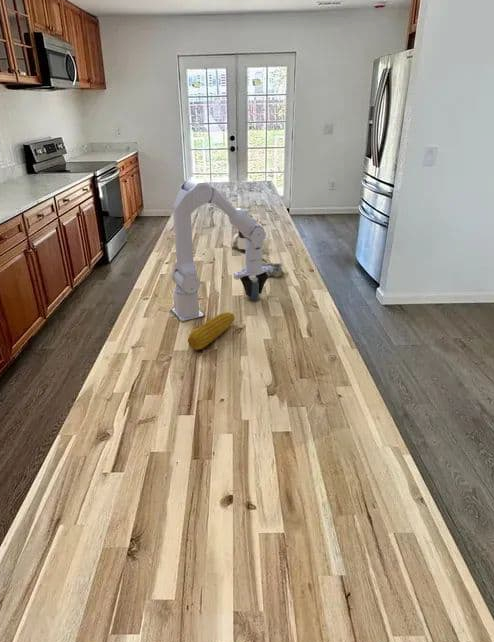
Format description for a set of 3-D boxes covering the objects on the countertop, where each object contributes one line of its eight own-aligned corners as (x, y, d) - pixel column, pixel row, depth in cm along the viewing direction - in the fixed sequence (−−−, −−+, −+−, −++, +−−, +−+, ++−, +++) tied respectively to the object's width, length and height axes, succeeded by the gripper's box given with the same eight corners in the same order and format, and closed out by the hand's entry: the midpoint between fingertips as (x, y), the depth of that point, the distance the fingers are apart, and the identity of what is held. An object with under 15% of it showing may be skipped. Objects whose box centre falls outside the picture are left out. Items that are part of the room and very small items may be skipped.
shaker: (246, 297, 156) (245, 277, 153) (255, 295, 158) (255, 275, 155) (251, 302, 153) (251, 281, 150) (261, 299, 155) (261, 279, 151)
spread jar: (255, 253, 199) (255, 228, 194) (230, 253, 199) (229, 228, 194) (254, 244, 210) (254, 221, 205) (230, 245, 210) (230, 221, 205)
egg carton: (254, 276, 174) (254, 266, 173) (257, 269, 181) (257, 260, 179) (280, 277, 172) (280, 268, 171) (282, 270, 179) (283, 261, 177)
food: (201, 355, 123) (200, 337, 120) (185, 350, 125) (184, 332, 123) (238, 323, 139) (238, 307, 136) (223, 319, 142) (222, 303, 139)
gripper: (266, 251, 155) (265, 285, 161) (229, 258, 149) (230, 293, 155) (276, 257, 149) (275, 292, 155) (239, 264, 144) (239, 301, 149)
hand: (253, 294), depth 155 cm, fingers closed on shaker, 4 cm apart
